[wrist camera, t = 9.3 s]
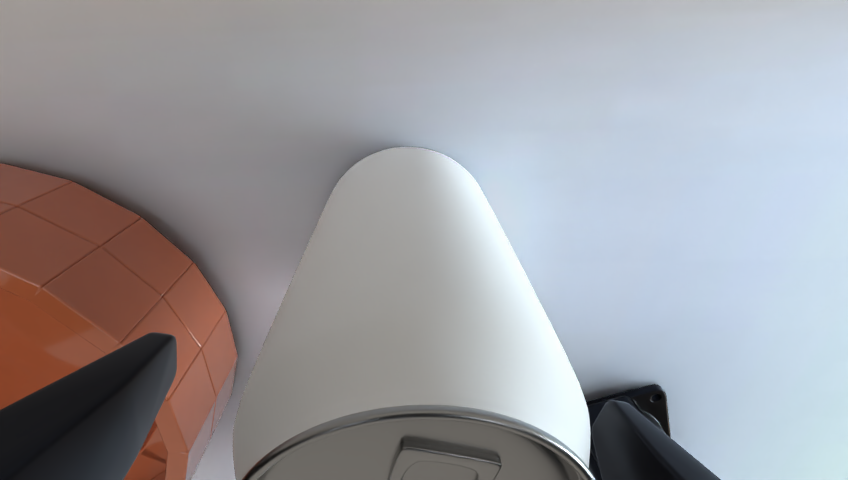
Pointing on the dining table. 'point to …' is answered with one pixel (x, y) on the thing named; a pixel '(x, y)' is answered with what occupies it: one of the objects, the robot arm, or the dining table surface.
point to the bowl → (107, 309)
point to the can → (411, 345)
